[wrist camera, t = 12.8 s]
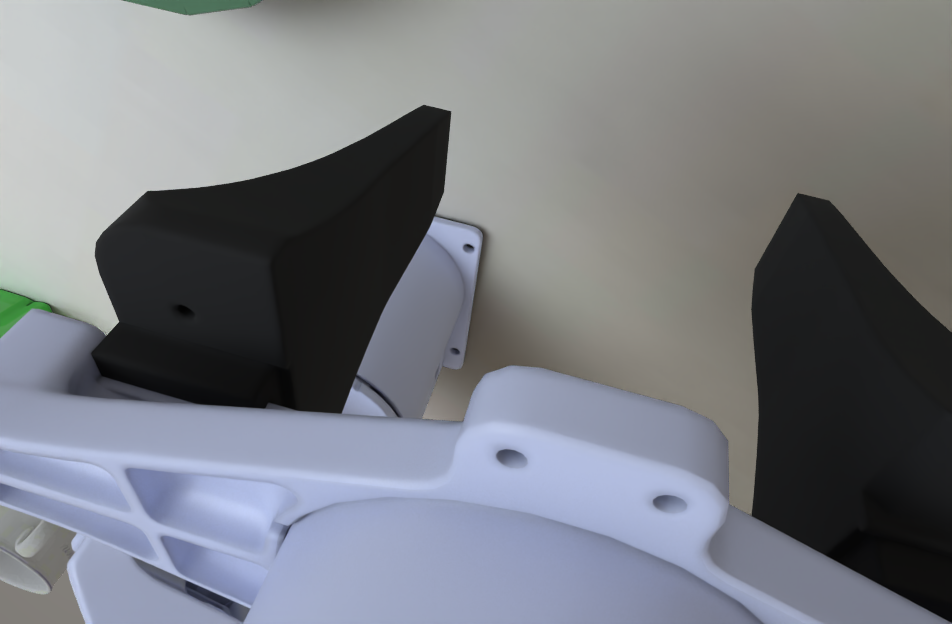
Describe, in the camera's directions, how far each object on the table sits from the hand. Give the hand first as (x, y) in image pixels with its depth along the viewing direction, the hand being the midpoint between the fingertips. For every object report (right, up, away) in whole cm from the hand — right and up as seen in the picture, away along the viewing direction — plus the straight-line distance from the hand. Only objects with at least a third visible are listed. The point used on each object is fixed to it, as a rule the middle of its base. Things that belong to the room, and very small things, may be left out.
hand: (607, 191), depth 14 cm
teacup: (-43, -19, +50) cm, 69 cm away
